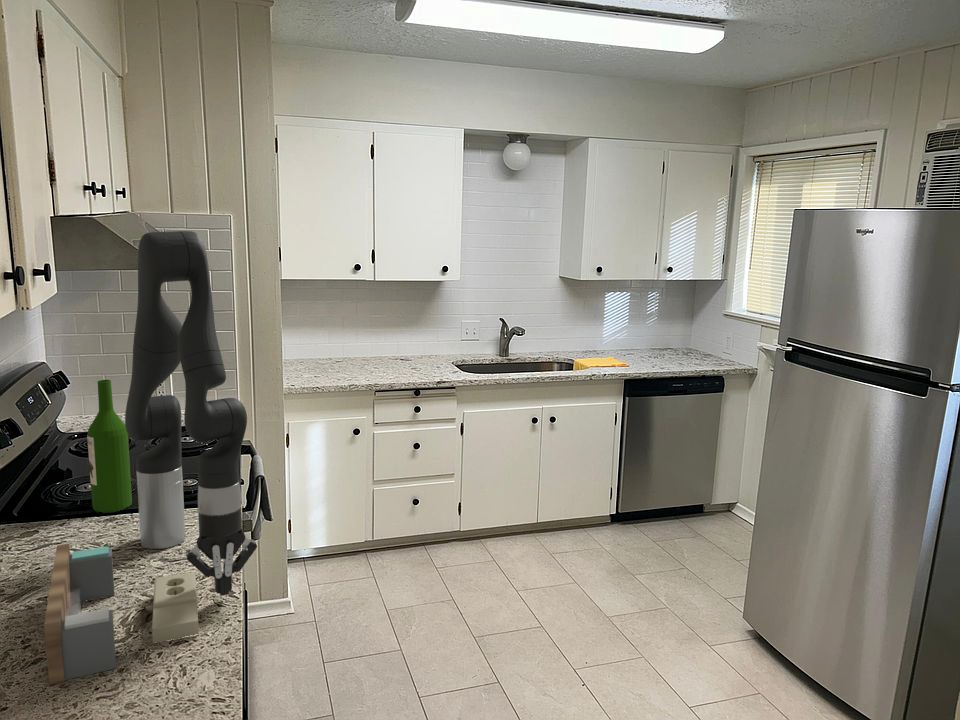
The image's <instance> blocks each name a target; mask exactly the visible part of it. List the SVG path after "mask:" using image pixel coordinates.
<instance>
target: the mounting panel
mask: <svg viewBox="0 0 960 720" xmlns="http://www.w3.org/2000/svg"><path fill="white" fill-rule="evenodd" d="M70 554H71V547H70V543H64V544H57V545H56V550H55V556H54V561H53V567H52V575H51V581H50V586H49V593H48V599H47V603H46V604H47V605H46V611H45V617H44V623H43V628H44V629H43V630H44V639H45V649H46V662H47V671H48V673H47V674H48V685H49V686H52V685H56V684H60V683H61V684H62V683H66V682H65V681H66V680H65V677H64V665H63V652H62V640H61V626H62V619H65V617H66V616H68V607H69V598H70V588H71V583H70V570H69V558H70Z"/></svg>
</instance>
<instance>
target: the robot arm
mask: <svg viewBox="0 0 960 720" xmlns="http://www.w3.org/2000/svg"><path fill="white" fill-rule="evenodd" d="M137 248H138V249H137V307H136V308H137V309H136V310H137V311H136V318H135V319H136V320H135V325H134V326H135V327H134V335H133V346H132V366H131V367H132V368H131V369H132V370H131V379H130V385H129V391H128V396H127V401H126V407H125V412H124V413H125V416H124V422H125V423H124V424H125V426H126V431H127V433H128V438H131V439H132V440H133V441H148V440H156V439H161V440H160V441H159V442H158V443H157V444H156V445H155V446H154V447H151V448H150V449H148V450H146V451H144V452H142V453H140V454H139V455H138V456H137V457H136V458H135V471H136V472H135V474H136V486H137V487H136V489H137V503H138V505H137V506H138V521H139V534H140V545H141V547H143V548H144V549H145V548H146V549H150V550H160V549H168V548H171V547H175V546H178V545H179V544H181V543H183V542H184V541H185V540H186V525H185V523H186V521H185V504H184V503H185V502H184V484H183V483H184V482H183V479H184V478H183V466H182V465H183V464H182V463H183V461H182V454H183V453H182V451H183V450H182V410H181V404H180V401H179V400H178V398H177V397H176V396H175V395H172V394H167V395H164V394H163V395H157V396H153V394H154V393H155V391H156V390H157V389H158V388H159V387H160V386H161V385H162V384H163V383H164V382H165V381H166V380H167V379H168V378H169V377H170V376H171V375H172V374H173V373H174V372H175V370H176V369H177V368H178V367H179V365H181V369H182V373H183V377H184V382H185V383H184V384H185V385H184V386H185V400H184V401H185V402H184V405H185V406H184V417H183V418H184V420H183V422H184V427H185V431H186V433H187V434H188V436H189V437H190V438H191V439H192V440H194V441H196V442H199V443H205V442H209V441H213V440H217V442H216V444H215V445H214V446H213V447H211V448H210V449H207V450H205V451H204V452H202V453H200V454H199V455H198V458H197V479H198V490H197V513H198V514H197V515H198V532H199V533H198V537H197V538H196V539H197V540H196V545H194V546H193V548H191V549H188V550H186V551H185V557H186V559H187V561H188V562H189V563H190V564H191V565H192V566H194V568H196V569H197V570H198V571H199V572H200V573H201V574H202V575H204V576H205V578H210V577H213V578H214V590H215V592H216V594H218V595H219V596H220V597H223V596H228V595H229V592H232V590H233V588H232V587H233V585H232V584H233V581H232V579H233V578H232V576H233V574H234V573H236V572H241V570H242V569H243V567H244V566H245V565H246V563H247V562H248V560H249V559H250V558H251V557H252V555H253V554H254V552H255V551H256V550H257V548H258V545H257V543H256V541H255V539H254V538H251V539H250V538H248V537H247V536H246V535H245V531H243V513H242V504H243V499H242V493H241V492H242V491H241V486H240V474H239V473H240V470H239V459H240V456H241V455H240V454H241V450H242V445H243V442H244V438H245V434H246V430H247V424H248V415H247V410H246V408H245V406H244V404H243V403H242V401H241V400H239V399H237V398H235V397H227V398H221V399H220V398H218V399H213V400H207V395H208V392H209V390H213V389H214V388H218V387H219V386H221V385H223V384H224V383H225V382H226V380H227V375H226V374H227V373H226V369H225V365H224V361H223V358H222V357H223V356H222V353H221V350H220V346H219V342H218V337H217V332H216V331H217V330H216V324H215V315H214V305H213V304H214V303H213V295H212V286H211V277H210V269H209V261H208V255H207V250H206V247H205V244H204V241H203V239H202V237H201V236H200V235H199V234H198V233H197V232H195V231H191V230H175V231H173V230H171V231H168V230H167V231H150V232H146V233H144V234H143V235H142V236H141V237H140V239H139V242H138V247H137ZM185 281H186V282H189V286H190V293H191V296H190V303H189V304H190V305H189V307H188V311H187V313H186V316H185V319H184V321H183V323H182V322H181V321H180V319H179V318H178V317H177V315H176V314H175V313H174V312H173V310H172V308H170V306H168V304H167V303H166V300H165V299H164V298H163V296H162V291H161V290H162V285H163V283H173V282H185ZM241 548H242V550H241V551H240V552H239V554H238V555H237V557H236V558H235V559H234V556H235V555H236V554H237V552H238V551H239V550H240V549H241ZM201 552H202V554H204V555H205V556H206V557H207V558H208V559H209V560H211V562H212V566H210V565H208V564H207V563H206V562H205V561H204V560H203V559H202V558H201V557H202V555H201ZM222 560H223V561H222ZM222 562H223V564H222ZM222 570H223V571H222Z"/></svg>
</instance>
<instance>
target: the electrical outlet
mask: <svg viewBox="0 0 960 720" xmlns="http://www.w3.org/2000/svg"><path fill="white" fill-rule="evenodd" d="M153 585H154V586H153V601H152V604H153V605H152V606H153V607H152V624H151V626H152V627H151V632H152V633H151V634H152V644H153V643H155V642H160V641H166V640H171V639H178V638H182V637H185V636H190V635H195V634H199V635H200V632H199V630H200V629H199V628H200V627H199V615H198V613H199V612H198V610H199V609H198V597H197V596H198V595H197V581H196V572H194V571H190V572H184V573H177V574H173V575H165V576H160V577H158V576H157V577H156V578H154V583H153ZM178 640H179V639H178Z"/></svg>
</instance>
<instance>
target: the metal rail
mask: <svg viewBox="0 0 960 720" xmlns="http://www.w3.org/2000/svg"><path fill="white" fill-rule="evenodd" d="M80 612H82V602H81V591H80V584H79V585H73V586H71V588H70V598H69V607H68V616H71V615H76V614H80Z"/></svg>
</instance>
